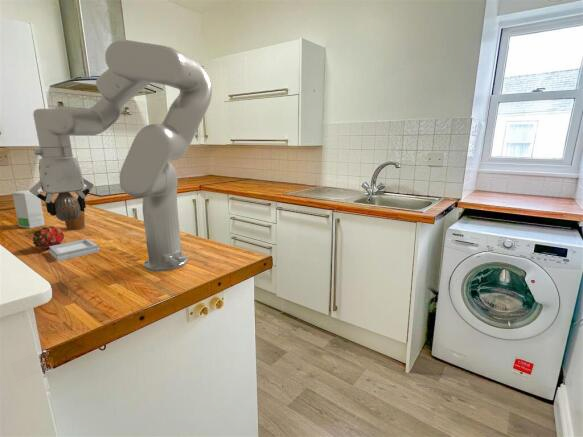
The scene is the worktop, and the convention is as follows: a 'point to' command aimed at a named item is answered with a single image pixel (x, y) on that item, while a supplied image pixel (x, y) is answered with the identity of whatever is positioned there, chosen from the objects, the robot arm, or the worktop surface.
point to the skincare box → (28, 209)
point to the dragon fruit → (48, 237)
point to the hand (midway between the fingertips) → (67, 212)
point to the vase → (66, 207)
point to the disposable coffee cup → (76, 222)
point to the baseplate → (73, 249)
